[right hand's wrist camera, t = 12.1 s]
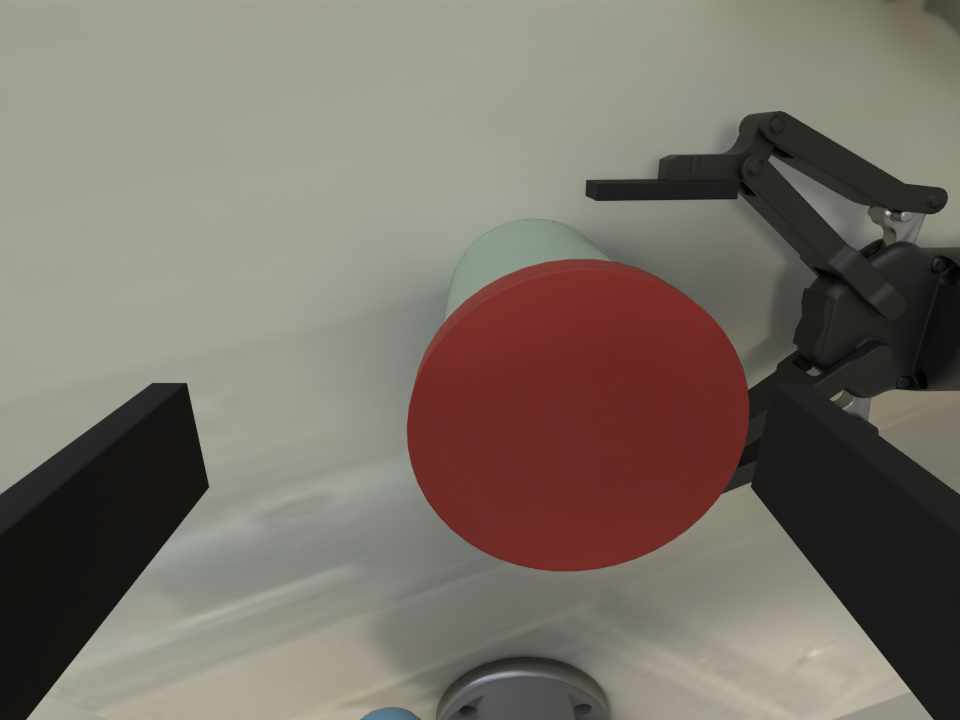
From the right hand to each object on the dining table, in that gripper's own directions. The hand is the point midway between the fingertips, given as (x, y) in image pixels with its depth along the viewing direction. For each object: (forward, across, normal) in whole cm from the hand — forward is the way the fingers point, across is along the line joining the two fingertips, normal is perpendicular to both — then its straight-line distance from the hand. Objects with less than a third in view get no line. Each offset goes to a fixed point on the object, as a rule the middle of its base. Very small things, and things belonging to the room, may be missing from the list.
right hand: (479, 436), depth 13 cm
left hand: (+16, +5, -3) cm, 18 cm away
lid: (+6, +3, -3) cm, 7 cm away
